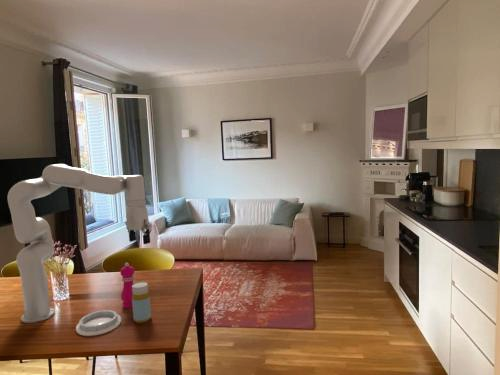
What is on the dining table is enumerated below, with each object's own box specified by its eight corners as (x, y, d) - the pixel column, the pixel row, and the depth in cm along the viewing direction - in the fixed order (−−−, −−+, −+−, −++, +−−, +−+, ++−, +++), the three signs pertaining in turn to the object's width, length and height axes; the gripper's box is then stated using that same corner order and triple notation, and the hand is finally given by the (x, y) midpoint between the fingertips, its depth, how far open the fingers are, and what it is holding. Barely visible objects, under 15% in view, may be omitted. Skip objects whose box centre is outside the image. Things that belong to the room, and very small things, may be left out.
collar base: (66, 330, 141) (66, 323, 140) (102, 312, 155) (102, 305, 155) (95, 339, 132) (94, 332, 132) (130, 320, 147) (129, 313, 147)
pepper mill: (133, 309, 158) (129, 265, 155) (118, 308, 159) (115, 265, 157) (141, 302, 165) (138, 260, 163) (127, 301, 166) (123, 260, 164)
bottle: (144, 314, 152) (142, 280, 150) (154, 318, 148) (152, 283, 146) (130, 320, 147) (127, 285, 145) (140, 325, 142) (137, 289, 141)
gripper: (117, 203, 155) (120, 242, 156) (141, 205, 144) (145, 246, 146) (131, 201, 161) (134, 238, 162) (156, 203, 150) (159, 242, 152)
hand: (139, 242), depth 154 cm, fingers open, 9 cm apart
